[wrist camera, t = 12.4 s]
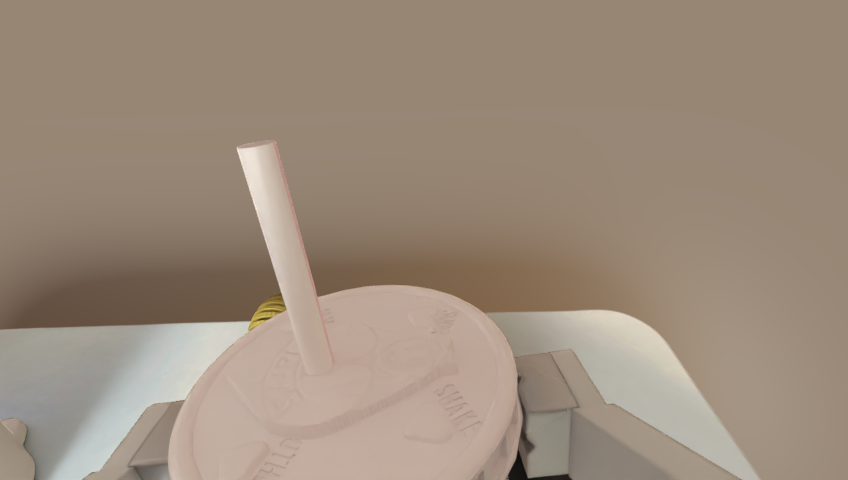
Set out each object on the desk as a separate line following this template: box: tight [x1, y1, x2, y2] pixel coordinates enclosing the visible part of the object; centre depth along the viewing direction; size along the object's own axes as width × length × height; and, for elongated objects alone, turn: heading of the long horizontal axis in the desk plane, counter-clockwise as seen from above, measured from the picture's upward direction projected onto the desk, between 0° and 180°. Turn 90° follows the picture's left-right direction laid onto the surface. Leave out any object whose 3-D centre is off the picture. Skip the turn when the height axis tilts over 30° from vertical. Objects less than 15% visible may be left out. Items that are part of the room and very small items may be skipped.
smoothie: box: [168, 140, 523, 480], centre depth 9 cm, size 6×6×14 cm
